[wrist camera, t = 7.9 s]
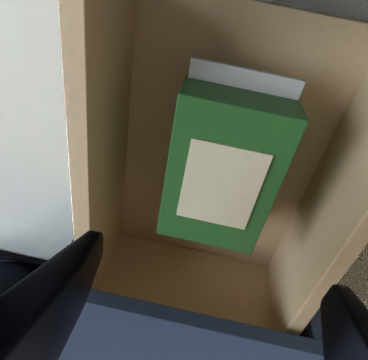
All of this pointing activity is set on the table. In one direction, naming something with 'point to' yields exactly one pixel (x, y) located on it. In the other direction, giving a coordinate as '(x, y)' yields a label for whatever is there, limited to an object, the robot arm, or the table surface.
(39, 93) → the table surface
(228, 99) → the green juice carton
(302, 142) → the drawer
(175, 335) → the cabinet
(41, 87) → the table surface
